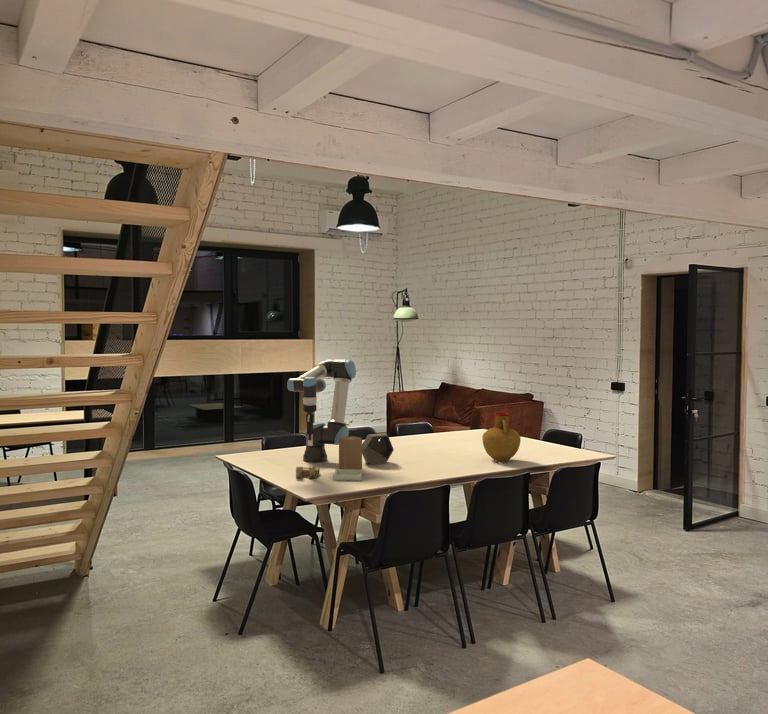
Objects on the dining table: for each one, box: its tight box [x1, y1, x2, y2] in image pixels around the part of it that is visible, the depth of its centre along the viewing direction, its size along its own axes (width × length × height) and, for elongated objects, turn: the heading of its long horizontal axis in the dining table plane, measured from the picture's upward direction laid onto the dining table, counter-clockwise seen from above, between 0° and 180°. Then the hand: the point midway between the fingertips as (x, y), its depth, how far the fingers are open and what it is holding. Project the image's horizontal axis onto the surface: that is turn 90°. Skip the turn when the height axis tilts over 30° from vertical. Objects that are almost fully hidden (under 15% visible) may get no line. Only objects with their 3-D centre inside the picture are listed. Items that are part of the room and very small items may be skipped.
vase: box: [481, 412, 521, 463], centre depth 419 cm, size 24×24×30 cm
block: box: [338, 435, 363, 470], centre depth 381 cm, size 10×10×20 cm
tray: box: [332, 468, 364, 482], centre depth 366 cm, size 15×15×3 cm
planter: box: [362, 433, 395, 466], centre depth 407 cm, size 17×8×21 cm
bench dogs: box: [295, 466, 316, 480], centre depth 364 cm, size 4×11×6 cm, turn 88°
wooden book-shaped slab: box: [302, 466, 321, 478], centre depth 372 cm, size 8×12×4 cm, turn 87°
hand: (310, 445), depth 378 cm, fingers closed
